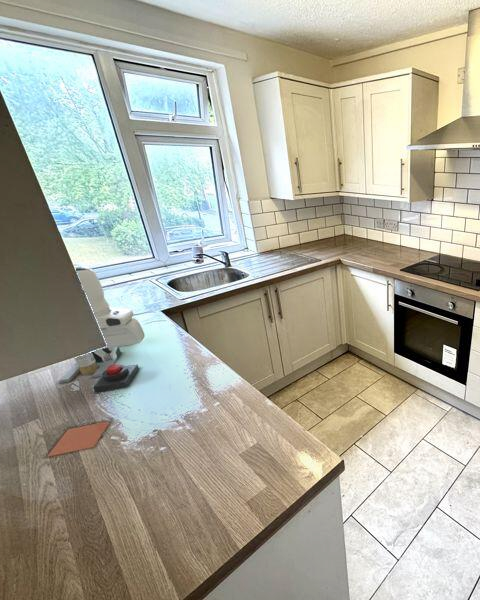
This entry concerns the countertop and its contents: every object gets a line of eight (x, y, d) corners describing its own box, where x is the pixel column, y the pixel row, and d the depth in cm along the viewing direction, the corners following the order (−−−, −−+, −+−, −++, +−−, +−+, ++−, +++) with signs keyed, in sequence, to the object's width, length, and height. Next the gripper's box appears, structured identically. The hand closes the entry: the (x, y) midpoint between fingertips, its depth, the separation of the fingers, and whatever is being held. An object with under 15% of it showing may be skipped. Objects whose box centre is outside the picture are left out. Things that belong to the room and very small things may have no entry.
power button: (106, 375, 100) (104, 370, 99) (111, 369, 103) (109, 365, 102) (119, 373, 101) (117, 368, 100) (123, 367, 104) (121, 363, 103)
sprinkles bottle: (87, 368, 110) (71, 333, 104) (102, 367, 110) (87, 332, 105) (77, 376, 105) (60, 340, 100) (93, 375, 106) (77, 339, 101)
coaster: (47, 458, 77) (46, 456, 76) (69, 430, 84) (68, 429, 84) (94, 448, 79) (93, 446, 79) (111, 422, 87) (110, 420, 87)
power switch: (95, 393, 98) (90, 382, 96) (110, 374, 107) (106, 364, 105) (127, 388, 100) (123, 377, 99) (139, 370, 109) (135, 359, 107)
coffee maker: (60, 384, 102) (30, 323, 94) (84, 360, 114) (59, 304, 106) (103, 377, 105) (78, 318, 97) (121, 354, 117) (100, 300, 109)
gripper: (40, 329, 89) (62, 371, 94) (130, 318, 95) (145, 358, 100) (54, 319, 94) (74, 360, 100) (138, 309, 100) (152, 348, 106)
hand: (110, 359), depth 100 cm, fingers closed
